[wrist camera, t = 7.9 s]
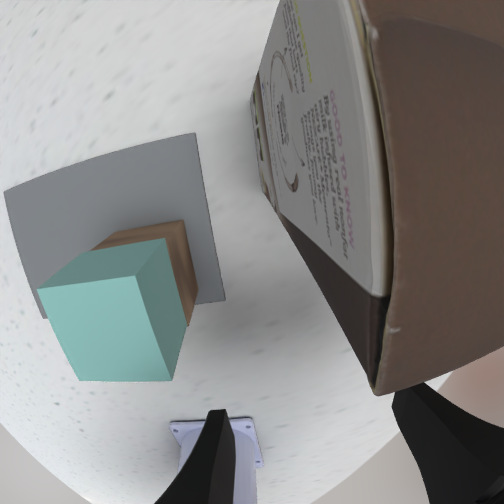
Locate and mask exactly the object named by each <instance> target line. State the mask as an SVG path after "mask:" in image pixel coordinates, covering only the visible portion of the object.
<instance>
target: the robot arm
mask: <svg viewBox="0 0 504 504" xmlns="http://www.w3.org/2000/svg"><path fill="white" fill-rule="evenodd" d="M392 410H393V413H394V415H395V418H396V421H397V424H398V426H399V428H400V430H401V432H402V434H403V436H404V438H405V440H406V442H407V444H408V446H409V448H410V450H411V452H412V454H413V456H414V458H415V460H416V462H417V464H418V467H419V469H420V472H421V475H422V478H423V481H424V484H425V487H426V491H427V495H428V498H429V503H430V504H504V428H501V427H499V426H496V425H493V424H490V423H488V422H486V421H483V420H481V419H479V418H477V417H475V416H473V415H471V414H469V413H468V412H466V411H464V410H463V409H461V408H459V407H458V406H456V405H454V404H452V403H451V402H450V401H449V400H447V399H446V398H444V397H443V396H441V395H440V394H439V393H437V392H436V391H435V390H433V389H432V388H431V387H429V386H428V385H427V384H426V383H424V382H423V383H420V384H417V385H414V386H411V387H408V388H405V389H402V390H399V391H396V392H395V395H394V399H393V403H392ZM248 425H249V426H248ZM169 428H170V429H171V431H172V433H173V435H174V437H175V438H176V440H177V442H178V444H179V445H180V447H181V453H180V460H179V466H178V473H177V476H176V478H175V479H174V480H173V482H172V483H171V484H170V486H169V487H168V488H167V490H166V491H165V492H164V493H163V494H162V495H161V497H160V498H159V499H158V500H157V501H156V502H155V503H154V504H257V488H256V470H255V468H260V467H263V466H264V463H263V459H262V455H261V451H260V447H259V443H258V440H257V436H256V432H255V428H254V424H253V420H252V419H250V418H242V419H231V420H229V418H228V415H227V412H226V409H221V410H210V411H209V412H208V415H207V418H206V421H199V422H171V423H170V425H169Z"/></svg>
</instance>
